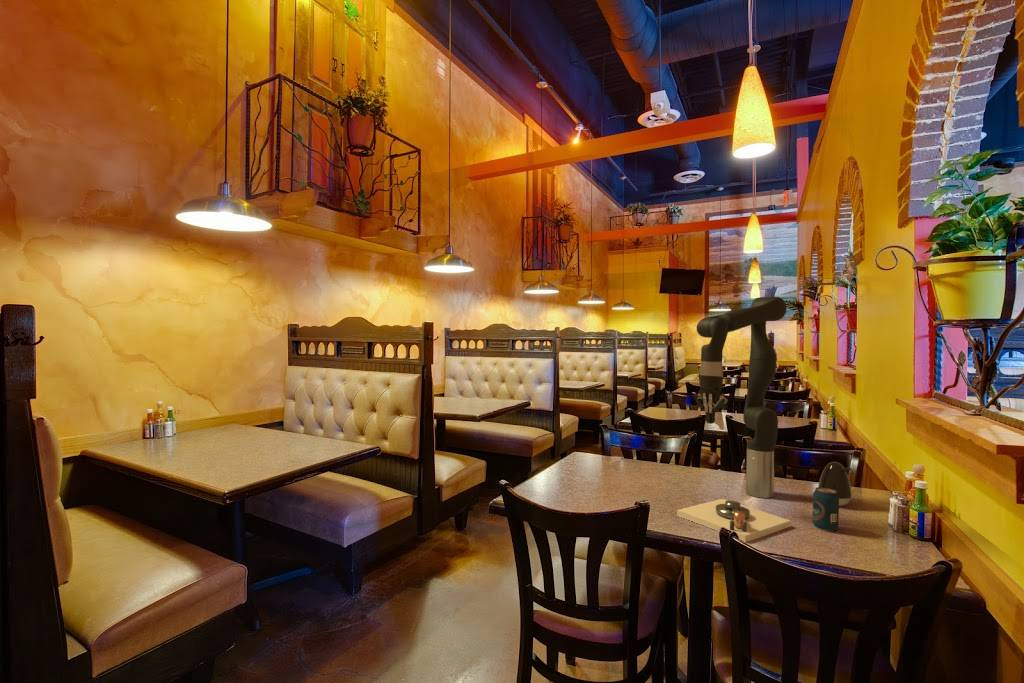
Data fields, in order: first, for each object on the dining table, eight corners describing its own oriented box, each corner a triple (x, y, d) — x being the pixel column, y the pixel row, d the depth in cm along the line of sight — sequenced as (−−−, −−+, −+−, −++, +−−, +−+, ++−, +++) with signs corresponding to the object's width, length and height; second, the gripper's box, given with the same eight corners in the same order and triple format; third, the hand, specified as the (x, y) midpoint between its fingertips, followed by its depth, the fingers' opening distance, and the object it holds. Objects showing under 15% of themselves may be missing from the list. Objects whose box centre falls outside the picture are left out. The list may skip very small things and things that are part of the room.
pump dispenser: (840, 510, 171) (841, 466, 171) (811, 501, 180) (812, 459, 180) (858, 506, 175) (859, 464, 175) (829, 498, 185) (830, 457, 185)
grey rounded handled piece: (713, 506, 164) (713, 495, 164) (746, 510, 162) (746, 498, 162) (722, 526, 148) (722, 512, 147) (758, 529, 145) (759, 516, 145)
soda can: (807, 524, 158) (808, 486, 157) (827, 523, 158) (828, 486, 158) (822, 532, 151) (823, 493, 151) (843, 532, 151) (844, 493, 151)
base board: (721, 504, 175) (722, 491, 175) (790, 526, 155) (790, 512, 155) (677, 516, 162) (677, 502, 162) (745, 542, 142) (745, 527, 142)
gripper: (688, 373, 177) (687, 421, 177) (721, 375, 166) (720, 427, 166) (701, 372, 181) (700, 419, 181) (734, 375, 170) (733, 425, 170)
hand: (710, 423), depth 174 cm, fingers closed
